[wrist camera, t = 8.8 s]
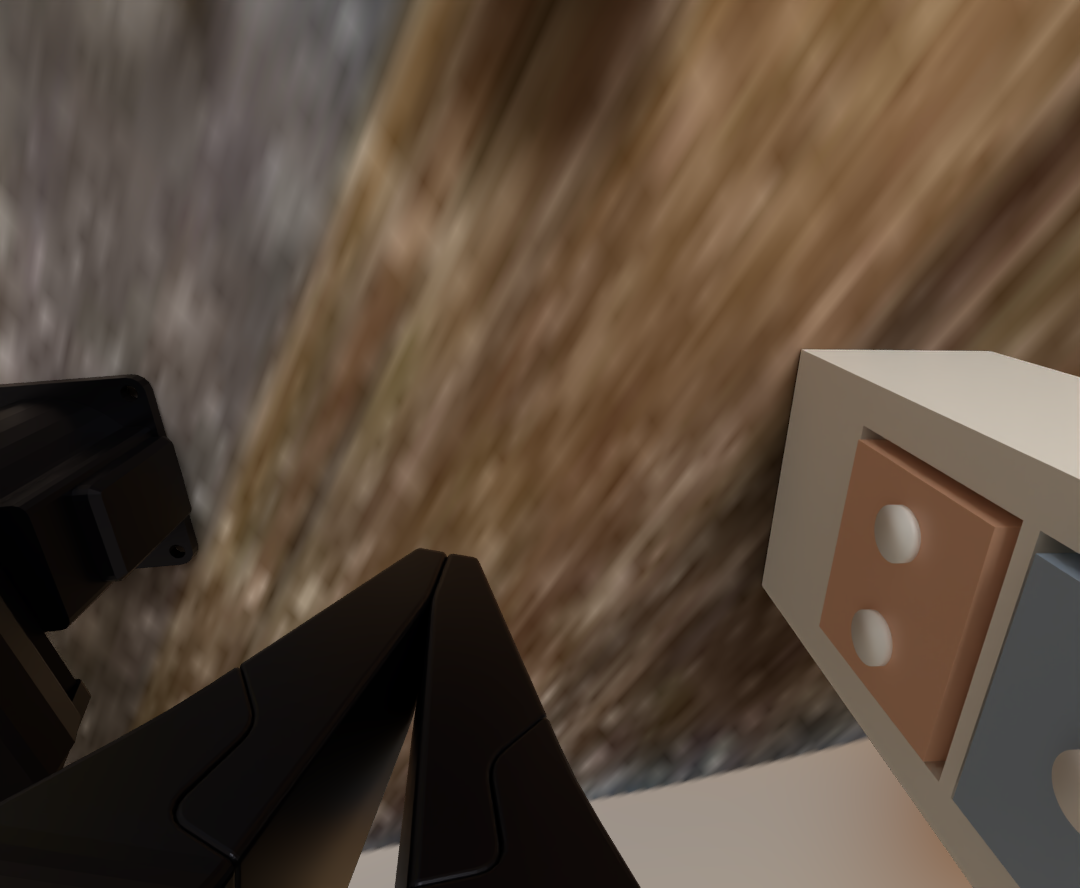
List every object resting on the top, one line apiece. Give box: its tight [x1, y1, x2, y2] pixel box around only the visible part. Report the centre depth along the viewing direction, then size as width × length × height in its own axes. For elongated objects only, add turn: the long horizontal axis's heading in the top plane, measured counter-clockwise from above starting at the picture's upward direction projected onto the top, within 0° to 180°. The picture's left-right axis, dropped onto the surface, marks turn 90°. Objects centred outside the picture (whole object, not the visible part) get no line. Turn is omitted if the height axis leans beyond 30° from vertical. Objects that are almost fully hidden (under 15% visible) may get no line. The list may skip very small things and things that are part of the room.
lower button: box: [819, 439, 1023, 762], centre depth 16 cm, size 3×6×5 cm, turn 179°
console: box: [762, 349, 1080, 888], centre depth 15 cm, size 6×9×16 cm
